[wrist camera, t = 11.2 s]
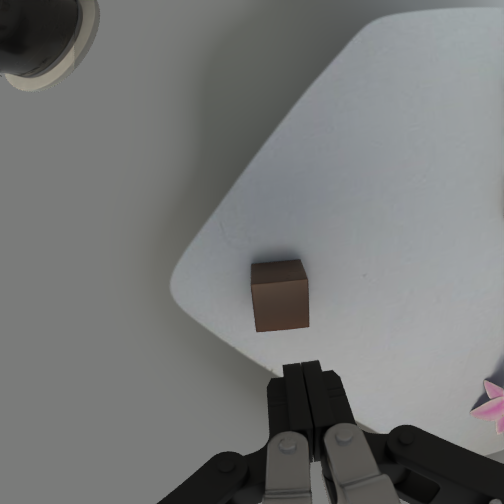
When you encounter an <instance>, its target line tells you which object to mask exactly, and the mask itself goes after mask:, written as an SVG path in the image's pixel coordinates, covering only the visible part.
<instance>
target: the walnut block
mask: <svg viewBox="0 0 504 504" xmlns="http://www.w3.org/2000/svg"><path fill="white" fill-rule="evenodd" d="M251 292H252V300H253V309H254V318H255V327H256V332H266V331H277V330H287V329H297V328H306V327H309V288H308V278H307V275H306V273H305V270H304V267H303V265H302V262H301V260H290V261H279V262H269V263H258V264H251Z"/></svg>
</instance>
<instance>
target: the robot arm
mask: <svg viewBox="0 0 504 504" xmlns="http://www.w3.org/2000/svg"><path fill="white" fill-rule="evenodd" d="M82 20H83V10H82V6H81V3H80V2H79V0H0V72H1V73H7V74H12V75H15V76H19V77H23V78H36V77H39V76H42V75H44V74H46V73H47V72H49V71H50V70H52V69H53V68H54V67H56V66H57V65H58V64H59V63H60V62H61V61H62V60H63V59H64V57H65V56H66V55H67V54H68V52H69V51H70V50H71V48H72V46H73V45H74V43H75V41H76V39H77V37H78V35H79V32H80V29H81V25H82ZM283 374H284V377H280V378H271V380H270V382H269V384H268V386H267V398H268V415H269V433H270V434H269V440H268V442H267V443H266V445H265V446H264V447H263V448H261V449H260V450H258V451H256V452H254V453H251V454H248V455H245V456H242V455H240V454H239V453H236V452H229V451H227V452H221V453H219V454H216V455H215V456H213V457H212V458H211V459H210V460H209V461H207V462H206V463H205V464H204V465H203V466H202V467H201V468H199V469H198V470H197V471H196V472H195V473H194V474H193V475H191V476H190V477H189V478H188V479H187V480H185V481H184V482H183V483H182V484H181V485H179V486H178V487H177V488H176V489H175V490H174V491H172V492H171V493H170V494H168V495H167V496H166V497H165V498H163V499H162V500H161V501H160V502H158V503H157V504H258V503H261V502H262V504H312V492H311V481H310V462H313V457H314V462H316V461H321V466H322V480H323V483H324V487H325V490H326V493H327V497H328V501H329V504H401V502H400V500H399V498H400V499H402V500H404V501H406V502H408V503H410V504H504V464H502V463H499V462H497V461H494V460H492V459H489V458H487V457H484V456H482V455H479V454H477V453H474V452H472V451H470V450H467V449H465V448H462V447H460V446H458V445H455V444H453V443H451V442H448V441H446V440H444V439H442V438H439V437H437V436H435V435H433V434H430V433H428V432H426V431H424V430H422V429H420V428H417V427H415V426H412V425H401V426H398V427H396V428H394V429H393V430H391V431H390V433H389V434H374V433H368V432H365V431H363V430H362V429H360V428H359V427H358V426H357V424H356V423H355V420H354V417H353V414H352V411H351V408H350V405H349V402H348V399H347V396H346V393H345V390H344V388H343V384H342V381H341V378H340V377H339V376H338V375H337V374H336V373H335V372H334V371H333V370H329V371H323V372H322V369H321V366H320V362H319V360H316V361H309V362H301V364H300V363H294V364H287V365H283Z"/></svg>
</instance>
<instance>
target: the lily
mask: <svg viewBox="0 0 504 504" xmlns="http://www.w3.org/2000/svg"><path fill="white" fill-rule="evenodd" d="M484 386H485V389H486V392H487V394H488V396H489V398H490V399H491V400H490V401H489V402H487V403H485V404H483V405H481V406H480V407H478V408H476V409H474V410H472V411H471V412H470V415H472V416H473V417H476V418H478V419H482V420H485V421H495V426H496V432H497V434H502V433H503V432H504V389H503V388H501V387H499V386H497V385H495V384H493V383H491V382H489V381H486V380H484Z"/></svg>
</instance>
